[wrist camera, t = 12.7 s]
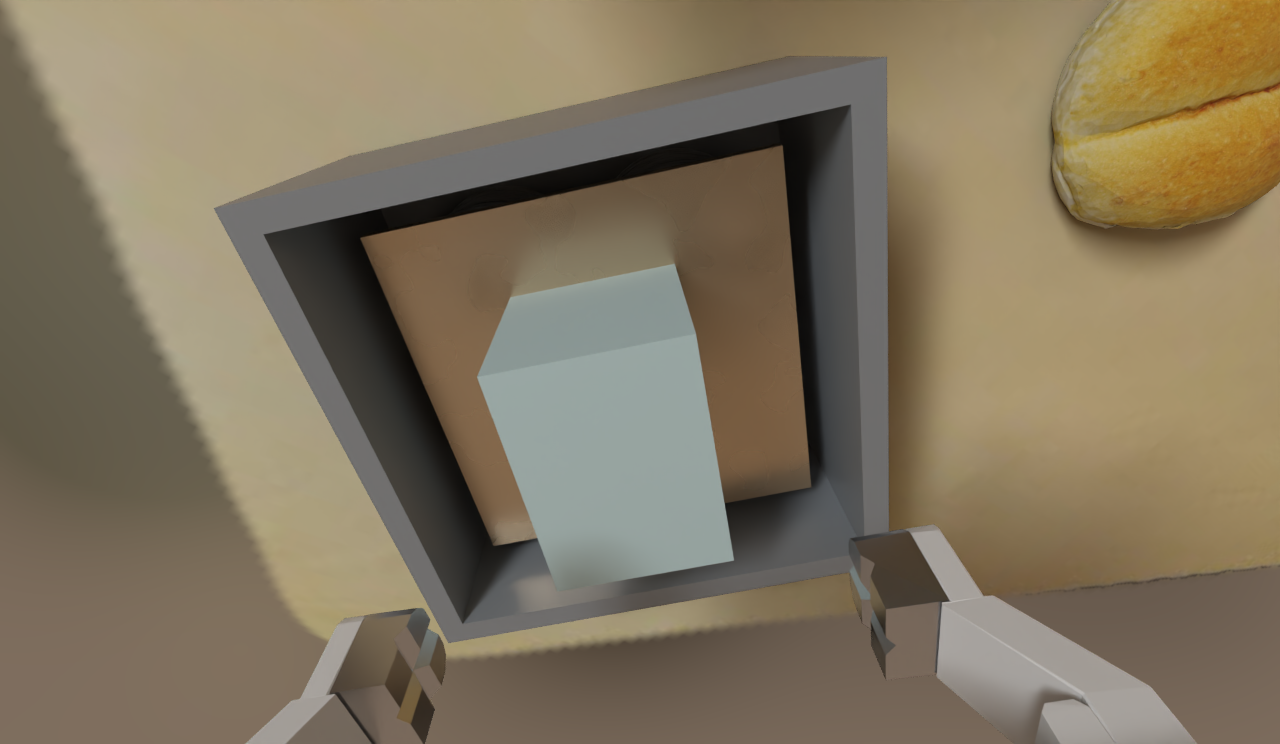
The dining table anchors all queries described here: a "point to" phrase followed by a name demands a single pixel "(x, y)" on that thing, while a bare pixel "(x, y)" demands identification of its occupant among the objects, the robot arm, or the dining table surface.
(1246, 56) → the bread roll
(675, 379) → the pale green block
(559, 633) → the dining table surface
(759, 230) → the brown layer
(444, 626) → the tote
